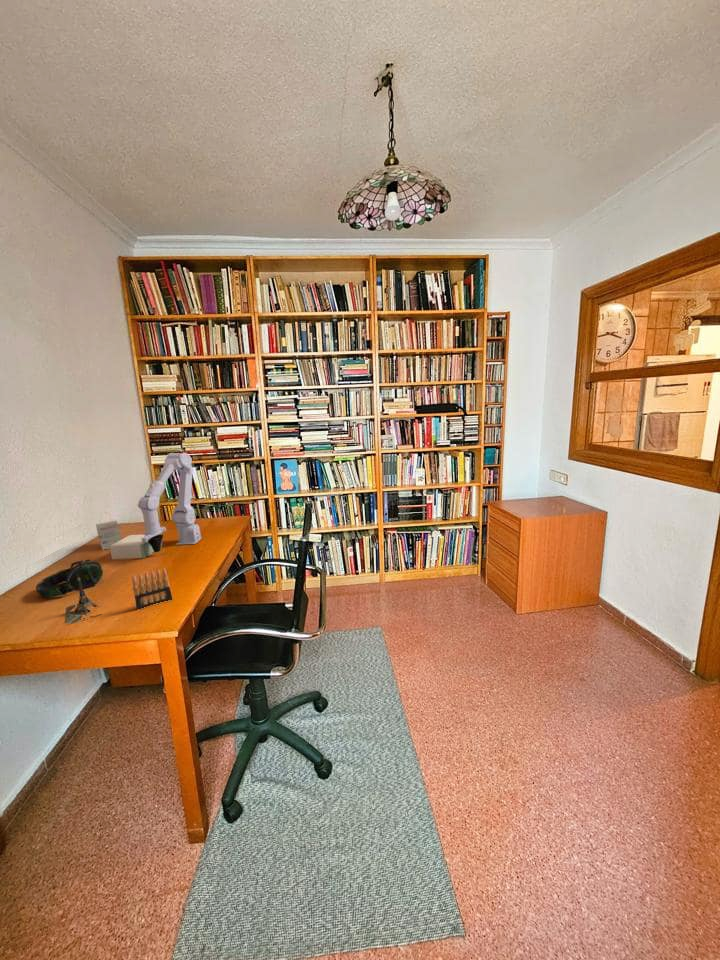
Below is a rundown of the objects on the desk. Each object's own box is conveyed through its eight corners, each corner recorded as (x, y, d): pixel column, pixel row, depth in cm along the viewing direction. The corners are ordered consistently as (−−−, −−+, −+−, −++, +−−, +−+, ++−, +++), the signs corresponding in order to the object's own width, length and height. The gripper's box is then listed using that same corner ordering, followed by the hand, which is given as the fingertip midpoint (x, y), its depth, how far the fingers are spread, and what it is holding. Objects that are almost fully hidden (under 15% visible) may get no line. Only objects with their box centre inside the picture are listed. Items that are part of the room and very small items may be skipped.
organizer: (160, 546, 178) (158, 533, 177) (142, 558, 164) (139, 545, 163) (132, 547, 179) (130, 534, 178) (112, 559, 165) (109, 546, 164)
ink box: (120, 541, 189) (116, 519, 186) (122, 545, 182) (118, 523, 180) (100, 546, 183) (95, 523, 181) (102, 550, 177) (97, 527, 174)
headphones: (98, 559, 152) (37, 582, 140) (91, 545, 142) (25, 569, 130) (110, 586, 147) (48, 613, 136) (103, 574, 137) (36, 601, 126)
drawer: (162, 546, 178) (160, 533, 177) (144, 558, 164) (142, 544, 163) (134, 546, 179) (132, 534, 178) (114, 558, 165) (112, 546, 164)
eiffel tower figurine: (66, 608, 126) (57, 572, 123) (101, 598, 132) (94, 563, 129) (64, 628, 114) (54, 588, 111) (103, 615, 120) (95, 577, 117)
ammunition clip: (172, 597, 128) (166, 565, 126) (172, 600, 126) (167, 567, 124) (136, 607, 123) (130, 574, 120) (136, 610, 121) (130, 576, 119)
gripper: (153, 518, 171) (158, 545, 174) (132, 528, 157) (138, 558, 160) (167, 517, 171) (172, 545, 174) (148, 528, 157) (153, 557, 159)
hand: (157, 551), depth 167 cm, fingers closed
